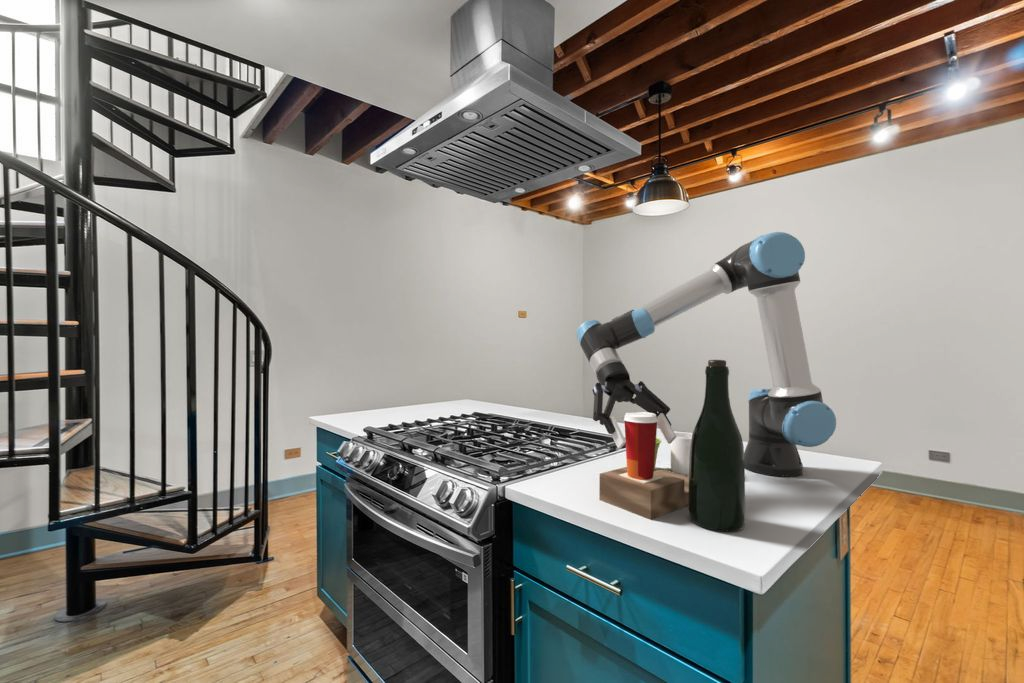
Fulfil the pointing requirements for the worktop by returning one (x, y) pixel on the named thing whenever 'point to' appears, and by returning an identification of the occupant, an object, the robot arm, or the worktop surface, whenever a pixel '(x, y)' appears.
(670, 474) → the step riser
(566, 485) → the worktop surface
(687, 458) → the mug
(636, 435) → the paper cup
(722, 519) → the dark green wine bottle
